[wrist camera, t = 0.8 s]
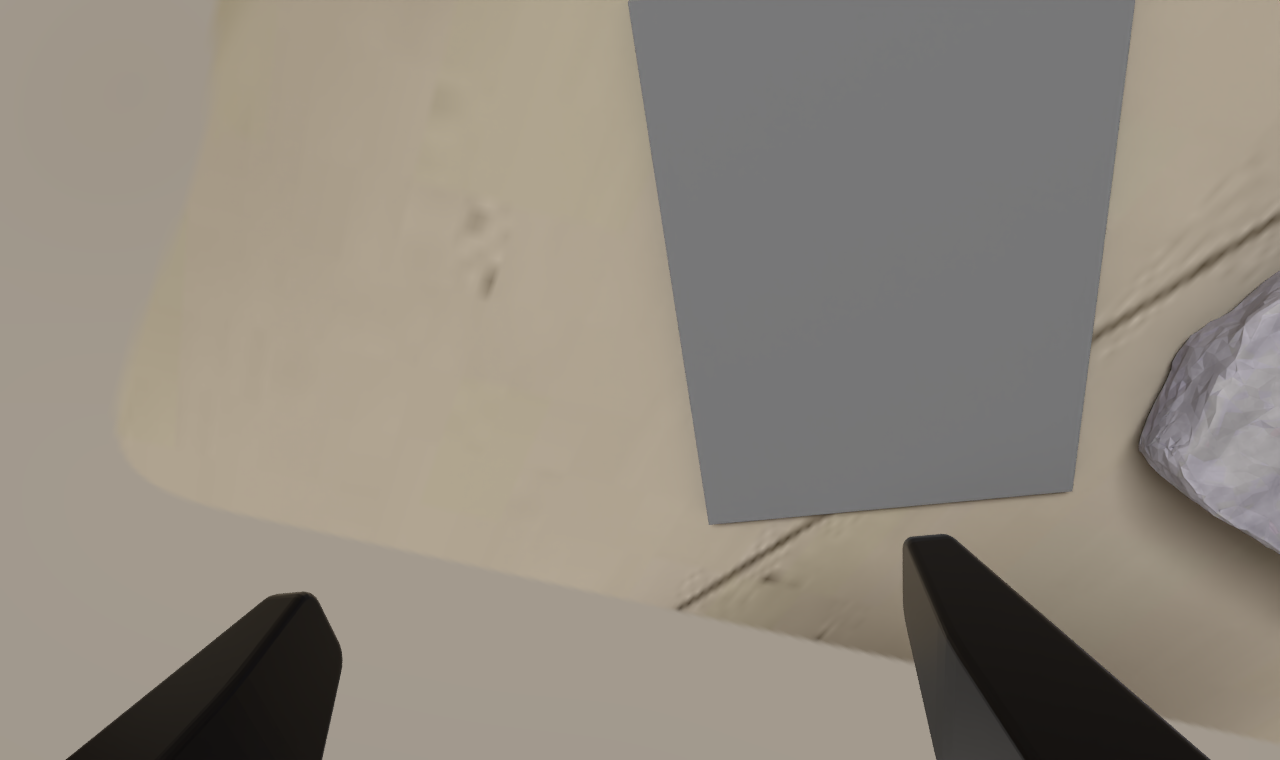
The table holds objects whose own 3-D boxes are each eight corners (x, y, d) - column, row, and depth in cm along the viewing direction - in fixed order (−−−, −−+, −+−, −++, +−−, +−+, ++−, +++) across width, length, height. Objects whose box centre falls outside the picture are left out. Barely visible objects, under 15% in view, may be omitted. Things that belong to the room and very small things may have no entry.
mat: (1134, -88, 16) (1146, -88, 16) (1064, 480, 23) (1072, 491, 23) (629, -1, 17) (628, 2, 17) (708, 513, 24) (709, 524, 24)
